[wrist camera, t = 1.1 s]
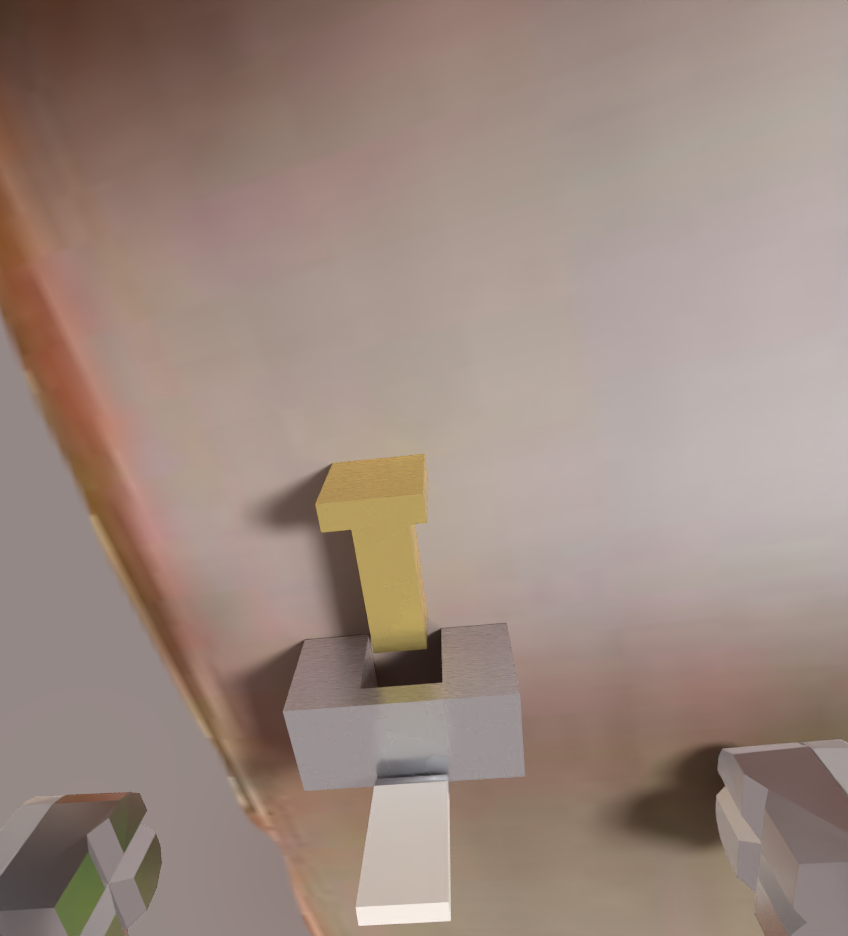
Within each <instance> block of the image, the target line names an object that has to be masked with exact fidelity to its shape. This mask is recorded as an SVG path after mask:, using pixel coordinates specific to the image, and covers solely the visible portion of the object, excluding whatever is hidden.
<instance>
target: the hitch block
mask: <svg viewBox="0 0 848 936" xmlns="http://www.w3.org/2000/svg"><path fill="white" fill-rule="evenodd" d="M441 639H442V683H431V684H418V685H405V686H392V687H379V688H378V683H377V677H376V672H375V666H374V661H373V656H372V650H371V645H370V639H369V635H357V636H345V637H333V638H320V639H308V640H305V641H304V644H303V647H302V651H301V654H300V657H299V660H298V664H297V667H296V670H295V673H294V677H293V680H292V683H291V686H290V690H289V693H288V696H287V699H286V702H285V706H284V709H283V714H284V718H285V722H286V725H287V729H288V733H289V736H290V740H291V744H292V747H293V751H294V755H295V758H296V762H297V766H298V769H299V773H300V777H301V780H302V784H303V787H304V791H310V790H325V789H340V788H355V787H370V786H375V780H376V779H385V778H400V777H415V776H430V775H444V774H448V780H449V781H460V780H475V779H490V778H505V777H520V776H525V769H524V753H523V736H522V720H521V703H520V692H519V686H518V681H517V675H516V670H515V665H514V659H513V654H512V649H511V643H510V638H509V633H508V627H507V623H504V624H492V625H480V626H467V627H455V628H443V629H441Z"/></svg>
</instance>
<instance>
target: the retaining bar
mask: <svg viewBox="0 0 848 936" xmlns="http://www.w3.org/2000/svg"><path fill="white" fill-rule="evenodd" d="M356 912H357V918H358V924H359V926H363V925H382V924H401V923H420V922H439V921H451V894H450V816H449V780H448V774H444V775H430V776H415V777H400V778H385V779H376V780H375V786H374V791H373V798H372V804H371V811H370V817H369V824H368V830H367V837H366V843H365V850H364V856H363V863H362V869H361V876H360V882H359V889H358V895H357V902H356Z"/></svg>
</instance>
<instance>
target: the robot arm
mask: <svg viewBox="0 0 848 936" xmlns="http://www.w3.org/2000/svg"><path fill="white" fill-rule="evenodd" d="M717 771H718V773H719V774H720V776H721V778H722V780H723V782H724V784H725V787H724V788H723V789H722V790H721V791H720V792H719V793H718V794H717V795H716V819H717V825H718V830H719V835H720V839H721V842H722V844H723V847H724V850H725V853H726V856H727V858H728V860H729V862H730V864H731V866H732V868H733V871H734V873H735V875H736V877H737V878H739V879H740V880H741V881H742V882H744V883H745V884H746V885H747V886H748V887H750V888H751V889H752V890H753V891H755V892H756V901H755V913H754V914H755V916H756V918H757V920H758V922H759V924H760V926H761V928H762V930H763V933H764V935H765V936H848V743H847V742H845V741H843V740H842V739H837V740H825V741H812V742H801V743H796V742H795V743H783V744H771V745H759V746H747V747H736V748H724V749H722V751H721V752H720V754H719V756H718V769H717ZM146 812H147V809H146V807H145V804H144V802H143V800H142V798H141V795H140V793H132V792H125V793H100V794H76V795H64V796H45V797H32V798H31V799H29V800H28V801H26V802H25V803H23V804H21V805H20V806H19V807H18V808H17V810H16V811H15V812H14V813H13V815H12V816H11V817H10V818H9V820H8V821H7V822H6V824H5V825H4V826H3V827H2V829H1V830H0V936H129V935H128V928H129V927H130V926H131V925H132V924H133V923H134V922H135V921H136V920H137V919H138V918H140V917H141V916H142V915H143V914H144V913H145V912H146V911H147V909H148V906H149V904H150V902H151V900H152V897H153V895H154V893H155V891H156V888H157V884H158V879H159V874H160V869H161V863H162V861H161V847H160V844H159V841H158V838H157V835H156V833H154V831H152V830H151V829H150V828H148V827H147V826H146V825H144V824H143V823H142V822H141V821H142V820H143V818H144V815H145V813H146Z"/></svg>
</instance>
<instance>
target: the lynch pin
mask: <svg viewBox="0 0 848 936" xmlns="http://www.w3.org/2000/svg"><path fill="white" fill-rule="evenodd" d="M427 485H428V479H427V470H426V462H425V454H419V455H409V456H399V457H389V458H379V459H369V460H359V461H349V462H339V463H332V466H331V468H330V470H329V473H328V475H327V477H326V480H325V482H324V485H323V487H322V489H321V492H320V494H319V496H318V499H317V501H316V504H315V505H316V510H317V515H318V520H319V525H320V529H321V533H322V532H333V531H343V530H351V531H352V536H353V542H354V547H355V553H356V558H357V564H358V569H359V575H360V580H361V586H362V591H363V597H364V602H365V607H366V613H367V618H368V624H369V629H370V635H371V640H372V646H373V651H374V653H383V652H395V651H407V650H420V649H427V610H426V602H425V595H424V587H423V580H422V572H421V565H420V557H419V550H418V542H417V535H416V527H415V524H419V523H427Z"/></svg>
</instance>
